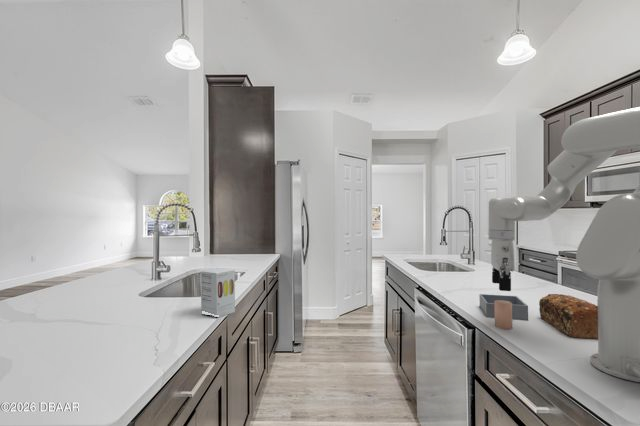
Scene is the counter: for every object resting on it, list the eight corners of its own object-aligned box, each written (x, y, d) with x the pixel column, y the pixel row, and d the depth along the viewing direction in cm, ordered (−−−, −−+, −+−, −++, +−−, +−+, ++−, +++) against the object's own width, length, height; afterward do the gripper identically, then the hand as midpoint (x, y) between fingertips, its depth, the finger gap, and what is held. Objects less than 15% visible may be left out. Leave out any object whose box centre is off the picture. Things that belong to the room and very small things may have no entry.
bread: (609, 341, 90) (608, 306, 90) (567, 338, 93) (566, 305, 93) (572, 319, 109) (571, 290, 109) (537, 317, 111) (537, 289, 111)
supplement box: (216, 318, 115) (215, 273, 115) (200, 314, 120) (199, 271, 120) (236, 311, 123) (235, 269, 124) (220, 308, 128) (219, 267, 128)
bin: (528, 320, 108) (528, 305, 108) (486, 317, 112) (486, 303, 112) (516, 309, 120) (516, 296, 120) (479, 306, 124) (479, 294, 124)
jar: (514, 330, 100) (513, 304, 100) (496, 328, 101) (496, 303, 101) (510, 324, 104) (509, 300, 104) (493, 323, 106) (492, 299, 106)
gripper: (522, 238, 93) (522, 294, 94) (507, 233, 110) (506, 281, 110) (494, 237, 96) (494, 293, 96) (483, 232, 112) (483, 280, 113)
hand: (501, 286), depth 103 cm, fingers open, 9 cm apart
